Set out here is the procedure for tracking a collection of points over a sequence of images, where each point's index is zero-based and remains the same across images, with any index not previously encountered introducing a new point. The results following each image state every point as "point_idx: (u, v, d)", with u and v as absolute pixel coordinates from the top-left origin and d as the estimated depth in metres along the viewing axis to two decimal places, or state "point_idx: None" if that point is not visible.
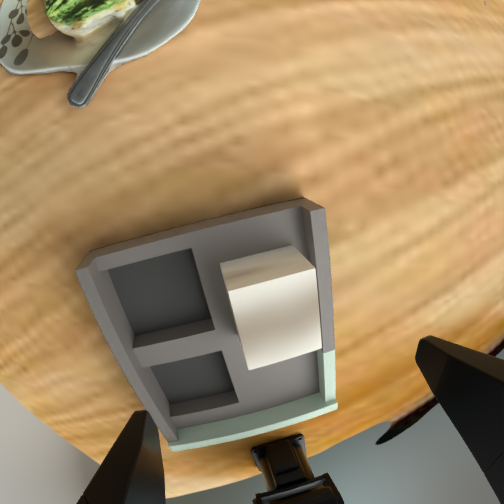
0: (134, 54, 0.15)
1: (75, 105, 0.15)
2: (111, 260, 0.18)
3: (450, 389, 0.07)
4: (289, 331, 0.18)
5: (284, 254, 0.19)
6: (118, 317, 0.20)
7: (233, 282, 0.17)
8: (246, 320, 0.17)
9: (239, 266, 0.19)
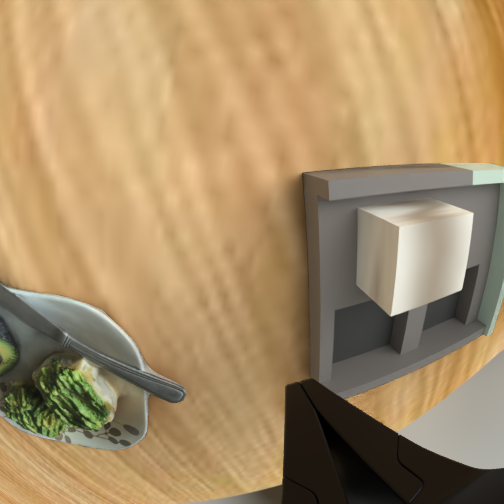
0: (135, 355, 0.18)
1: (183, 397, 0.20)
2: (325, 371, 0.21)
3: None
4: (447, 252, 0.14)
5: (368, 228, 0.16)
6: (371, 365, 0.22)
7: (383, 302, 0.16)
8: (421, 297, 0.15)
9: (367, 277, 0.17)
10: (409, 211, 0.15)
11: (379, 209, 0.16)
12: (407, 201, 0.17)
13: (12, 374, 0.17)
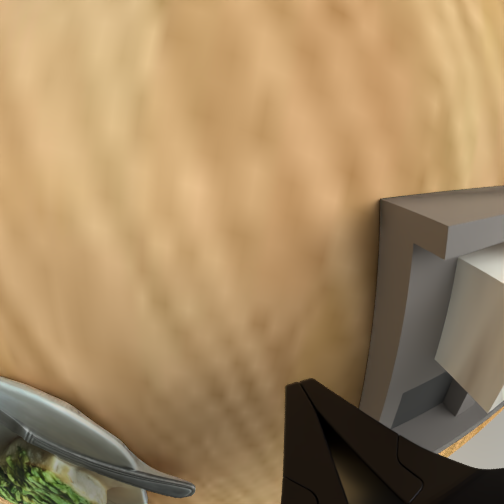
0: (123, 456, 0.11)
1: (192, 493, 0.12)
2: None
3: None
4: None
5: (474, 293, 0.09)
6: (424, 433, 0.15)
7: (479, 394, 0.08)
8: None
9: (457, 355, 0.10)
10: None
11: (488, 262, 0.09)
12: None
13: None
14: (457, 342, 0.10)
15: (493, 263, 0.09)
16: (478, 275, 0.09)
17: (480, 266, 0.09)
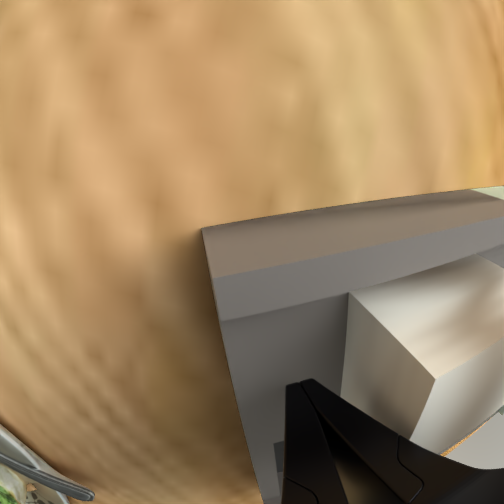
0: (23, 455, 0.10)
1: (92, 498, 0.11)
2: (269, 492, 0.12)
3: None
4: (502, 374, 0.06)
5: (366, 340, 0.08)
6: None
7: None
8: (443, 444, 0.07)
9: None
10: (451, 305, 0.07)
11: (392, 299, 0.08)
12: (441, 267, 0.09)
13: None
14: (355, 392, 0.09)
15: (398, 302, 0.08)
16: (369, 319, 0.08)
17: (374, 307, 0.08)
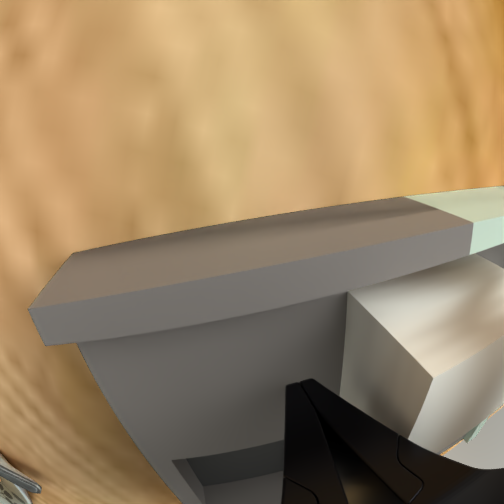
0: None
1: (39, 491, 0.11)
2: None
3: None
4: (501, 374, 0.06)
5: (365, 339, 0.08)
6: (270, 496, 0.13)
7: None
8: (442, 444, 0.07)
9: (355, 406, 0.09)
10: (449, 304, 0.07)
11: (391, 299, 0.08)
12: (440, 267, 0.09)
13: None
14: (354, 391, 0.09)
15: (397, 301, 0.08)
16: (367, 318, 0.08)
17: (372, 306, 0.08)
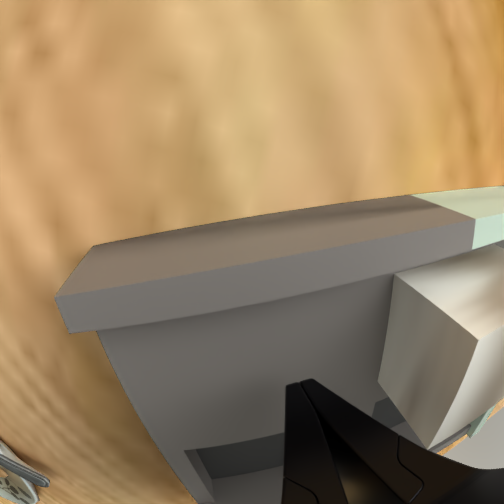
0: None
1: (47, 484, 0.11)
2: (201, 496, 0.12)
3: None
4: None
5: (411, 316, 0.08)
6: (278, 488, 0.13)
7: (419, 427, 0.08)
8: (474, 414, 0.07)
9: (397, 382, 0.10)
10: (480, 284, 0.08)
11: (432, 280, 0.08)
12: (467, 255, 0.10)
13: None
14: (396, 367, 0.10)
15: (437, 282, 0.08)
16: (414, 296, 0.08)
17: (418, 286, 0.08)
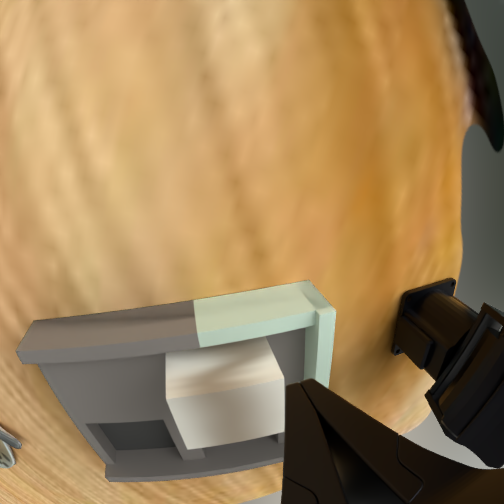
0: None
1: (20, 446, 0.19)
2: (105, 458, 0.20)
3: None
4: (245, 411, 0.15)
5: None
6: (153, 462, 0.21)
7: None
8: (220, 439, 0.15)
9: None
10: (206, 368, 0.16)
11: (180, 358, 0.16)
12: None
13: None
14: None
15: (182, 360, 0.16)
16: None
17: (169, 361, 0.16)
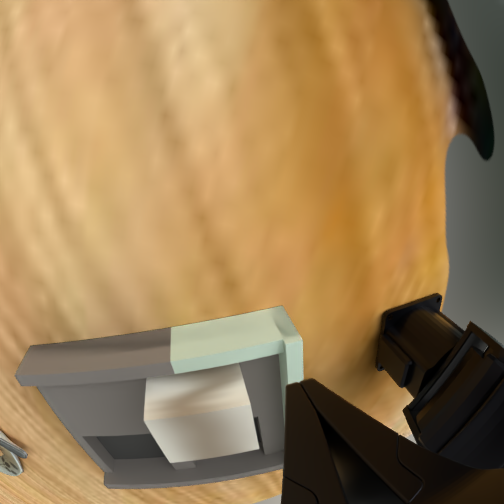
0: None
1: (26, 456, 0.20)
2: (103, 467, 0.21)
3: None
4: (217, 431, 0.15)
5: None
6: (147, 470, 0.22)
7: None
8: (198, 455, 0.16)
9: None
10: (181, 392, 0.16)
11: (159, 382, 0.17)
12: None
13: None
14: None
15: (160, 384, 0.17)
16: None
17: (149, 384, 0.17)
